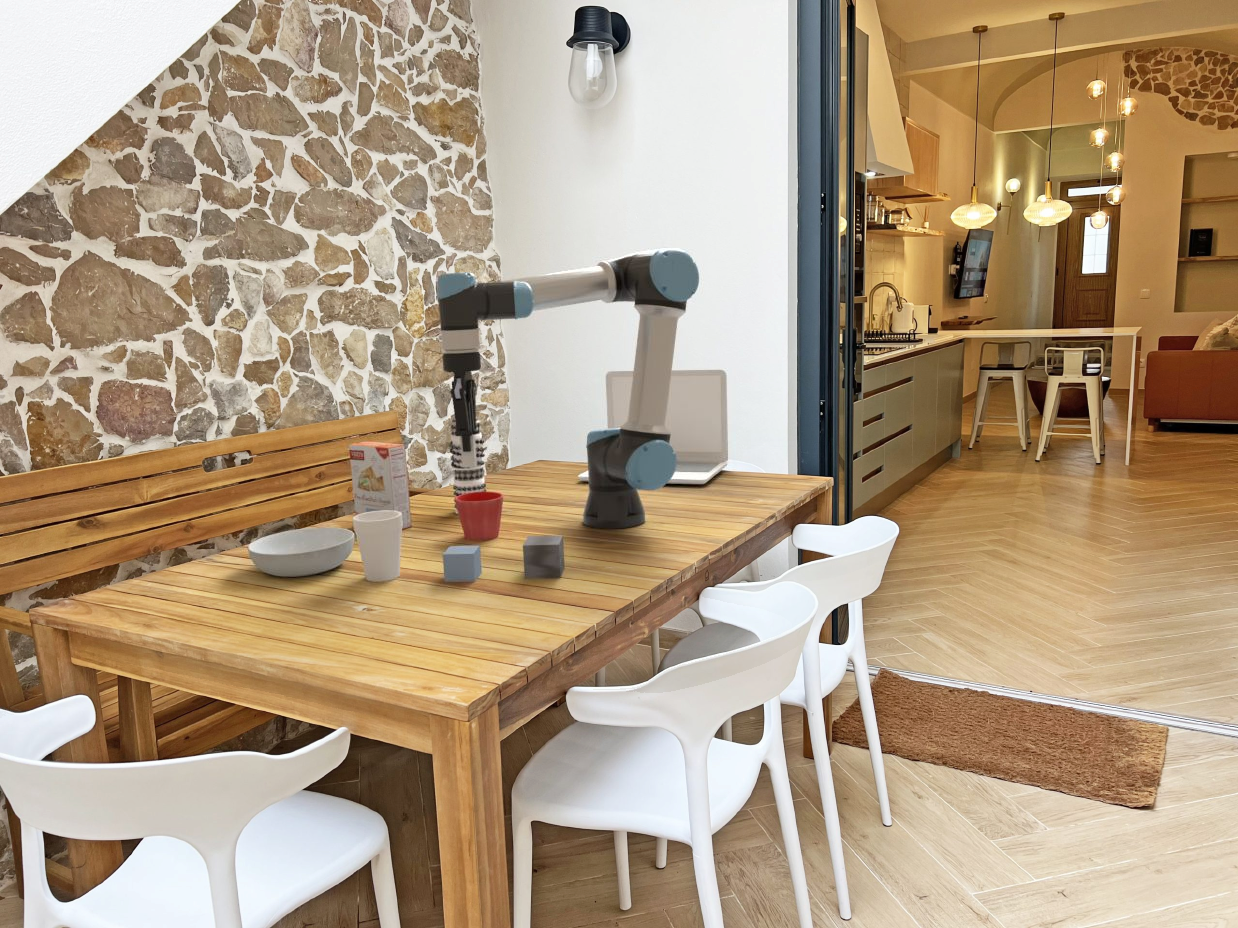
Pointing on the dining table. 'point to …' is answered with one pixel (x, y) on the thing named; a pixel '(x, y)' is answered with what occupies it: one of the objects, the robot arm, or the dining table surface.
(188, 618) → the dining table surface
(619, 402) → the laptop
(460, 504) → the flower pot
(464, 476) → the black and white cylinder
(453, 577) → the slate-blue block
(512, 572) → the dining table surface
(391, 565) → the foam cup
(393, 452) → the cracker box
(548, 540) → the charcoal block
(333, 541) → the serving bowl
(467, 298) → the robot arm
